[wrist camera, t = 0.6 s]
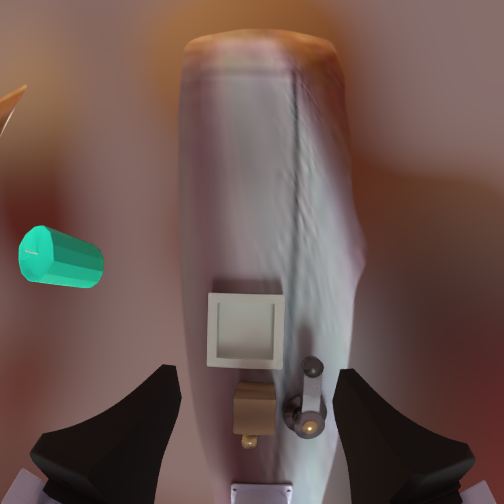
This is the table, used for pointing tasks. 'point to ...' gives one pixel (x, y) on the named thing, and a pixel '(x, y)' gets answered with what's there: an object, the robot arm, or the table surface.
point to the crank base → (290, 406)
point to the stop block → (254, 408)
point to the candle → (59, 259)
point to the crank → (309, 400)
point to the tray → (245, 331)
